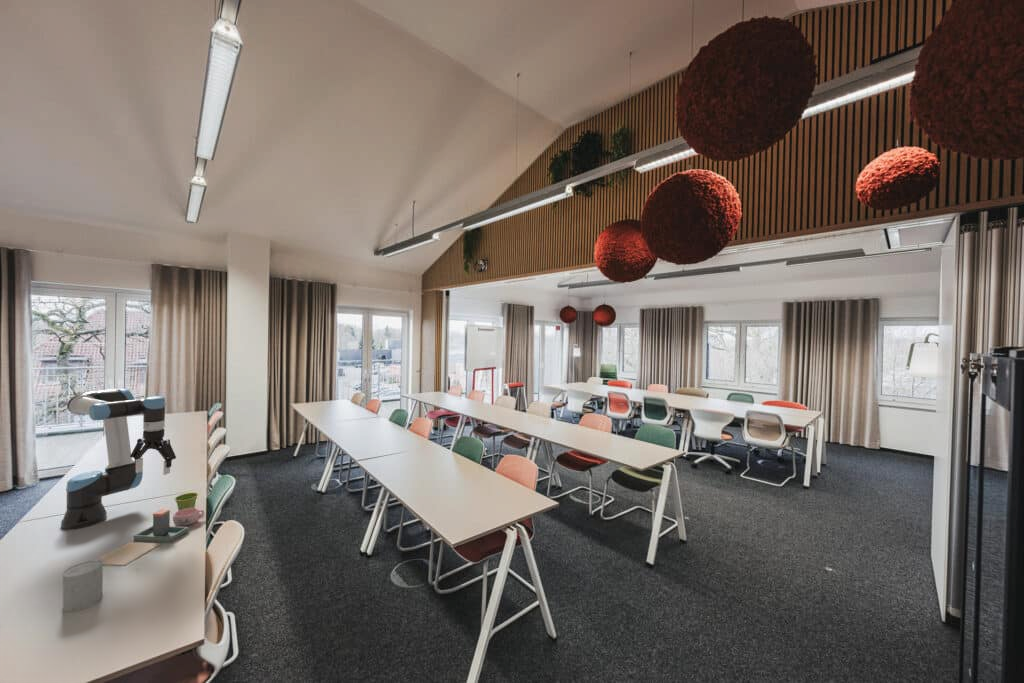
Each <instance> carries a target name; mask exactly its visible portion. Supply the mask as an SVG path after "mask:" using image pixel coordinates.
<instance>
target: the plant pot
mask: <svg viewBox="0 0 1024 683" xmlns="http://www.w3.org/2000/svg"><path fill="white" fill-rule="evenodd" d="M198 496H199V493H198V492H189V493H188V492H187V493H183V494H180V495H178V496H176V497H175V498H174V500H175V502H176V505H177V512H178V511H180V510H183V509H187V508H196V503H197V498H198Z"/></svg>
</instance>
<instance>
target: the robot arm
mask: <svg viewBox="0 0 1024 683" xmlns="http://www.w3.org/2000/svg"><path fill="white" fill-rule="evenodd" d="M66 407H67V410H68V411H69V412H70V413H71V414H73V415H81V416H84V415H89V417H90V419H91V420H92V421H103V425H104V433H105V434H104V435H105V443H106V450H107V451H106V452H107V461H108V465H107V466H106V467H105V468H104V472H102V471H100V470H94V471H93V470H92V471H87V472H84V473H80V474H78V475H75V476H73V477H71V478H70V479H69V480H68V481H67V482H66V487H65V491H66V511H65V513H64V515H63V518H62V520H61V521H60V522H61V523H60V528H61V529H63V530H72V529H73V530H75V529H76V530H77V529H81V528H86V527H90V526H92V525H96V524H98V523H101V522H103V521H104V520H106V518H108V517H107V516H108V512H107V510H106V509H105V506H104V504H103V502H102V501H103V500H102V499H103V497H105V496H109V495H113V494H118V493H120V492H125V491H129V490H131V489H135V488H137V487H138V486H140V484H141V483H142V480H143V474H144V473H143V472H144V470H143V469H144V468H143V466H144V457H143V456H144V454H146V452H147V451H148V450H155V451H158V453H159V454H160V455H161V457H162V458H163V459H164V461H163V473H162V475H164V476H166V475H168V474H170V473H171V467H172V461H173V460H175V459H177V455H176V454H175V450H173V446H172V444H171V439H165V440H164V436H165V427H166V424H165V423H166V422H165V420H166V419H165V416H166V398H165V397H164V396H158V395H157V396H156V395H155V396H148V397H145V396H144V397H142V396H140V397H137V398H135V399H134V395H133V393H132V392H131V391H130V390H129V389H127V388H113V389H112V388H111V389H103V390H102V389H101V390H92V391H91V390H90V391H83V392H81V393H78V394H75V395H73V396H72V397H71V398H70V399H69V400H68V401H67V404H66ZM138 415H140V416H141V415H143V420H142V421H143V422H142V423H143V424H142V425H143V426H142V429H143V431H142V437H141V438H137V440H136V445H135V446H134V448H133V449H132V452H131V441H130V433H129V425H128V424H129V423H128V418H127V417H132V416H138ZM133 459H134V460H133Z"/></svg>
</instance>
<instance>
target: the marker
mask: <svg viewBox="0 0 1024 683" xmlns="http://www.w3.org/2000/svg"><path fill="white" fill-rule="evenodd" d="M170 512H171V510H170V509H159V510H158V511H156V512H154V513H152V526H153V535H154V536H165V535H167V534H168V532H169V529H170V526H171V525H170V523H171V522H170V517H171V516H170V515H171V513H170Z"/></svg>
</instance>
